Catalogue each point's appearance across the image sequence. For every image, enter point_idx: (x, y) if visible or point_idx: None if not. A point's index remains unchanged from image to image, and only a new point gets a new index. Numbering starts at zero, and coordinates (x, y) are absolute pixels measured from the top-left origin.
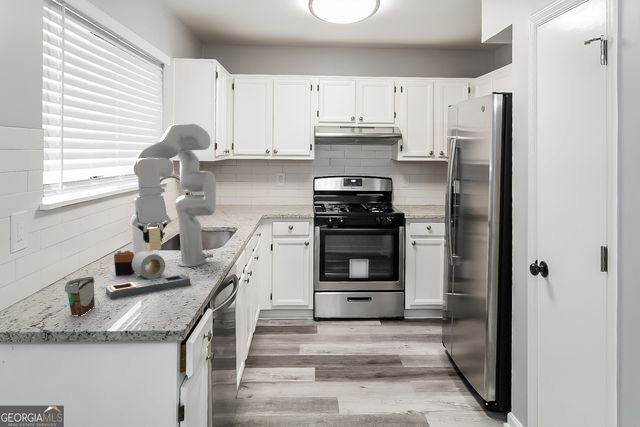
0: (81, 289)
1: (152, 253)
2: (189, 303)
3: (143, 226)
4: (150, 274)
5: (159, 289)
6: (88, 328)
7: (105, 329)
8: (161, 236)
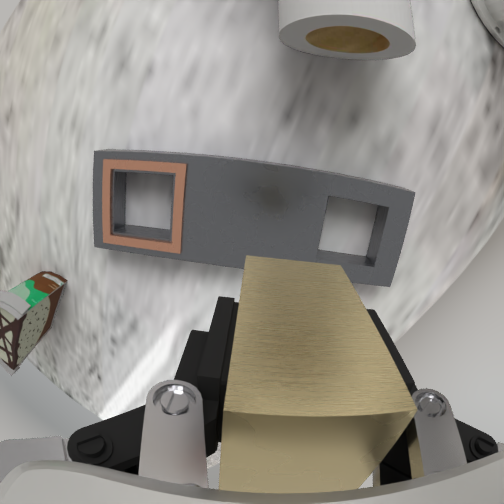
0: (18, 357)
1: None
2: None
3: (167, 461)
4: (323, 49)
5: None
6: (70, 389)
7: (95, 411)
8: None
